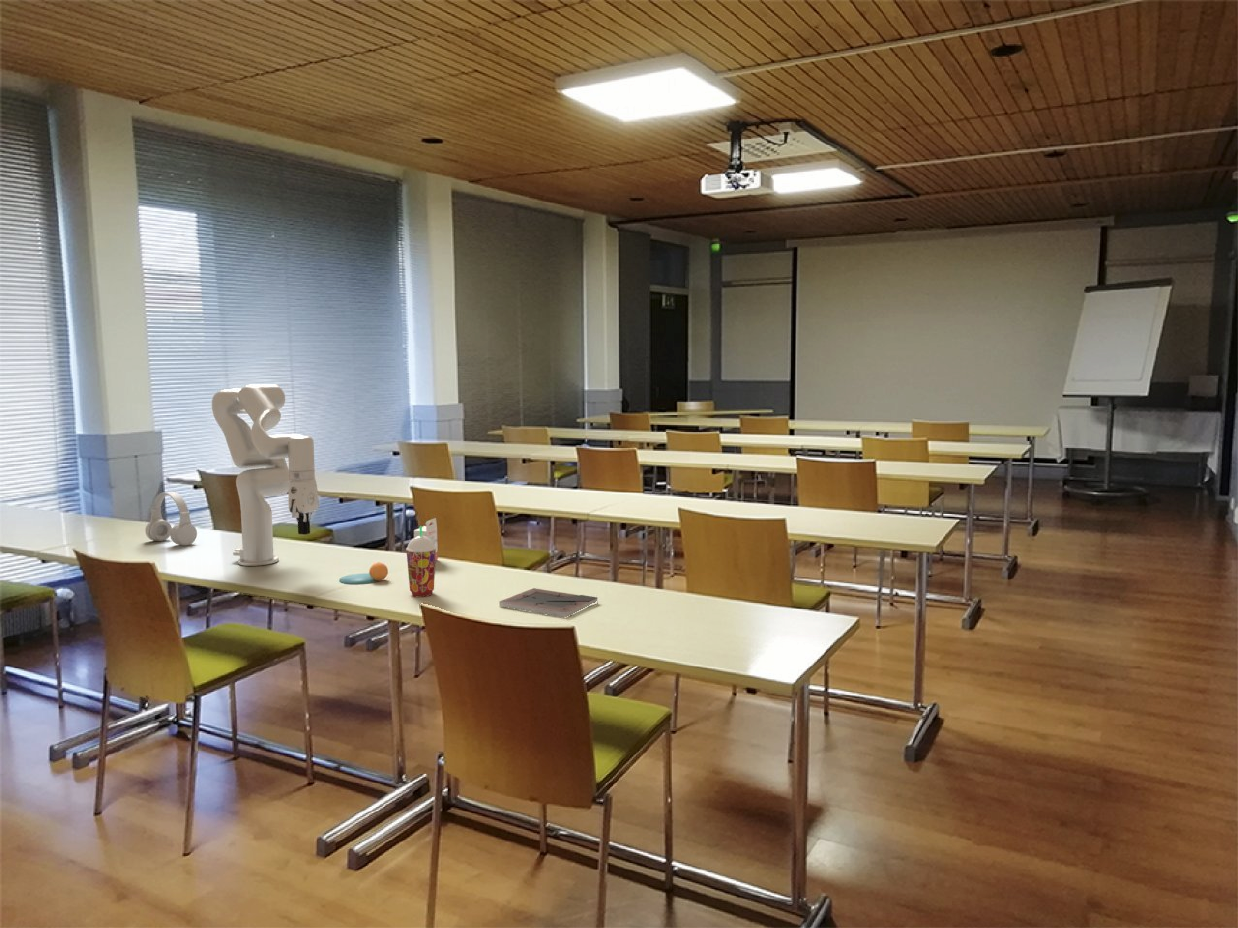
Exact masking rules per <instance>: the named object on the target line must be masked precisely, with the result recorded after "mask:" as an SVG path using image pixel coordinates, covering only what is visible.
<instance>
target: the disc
mask: <svg viewBox="0 0 1238 928" xmlns="http://www.w3.org/2000/svg"><path fill="white" fill-rule="evenodd" d="M338 581H339V582H340V583H342V584H345V585H366V584H367V585H368V584H372V583H376V582H378V581H377V580H374V579H372V578H371V576H370V574H369V572H368V573H367V572H366V573H355V574H354V573H353V574H348V575H345V576H342V577H341V578H339V580H338Z"/></svg>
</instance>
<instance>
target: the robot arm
mask: <svg viewBox="0 0 1238 928" xmlns="http://www.w3.org/2000/svg"><path fill="white" fill-rule="evenodd" d="M285 403H286V394H285V392H284V391H283V389H282V388H281V387H280V386H279V385H277V384H269V383H267V384H263V383H262V384H261V383H260V384H257V383H256V384H248V385H245V386H243V387H241V388H230V389H229V388H228V389H222V390H219V391H217V392H215V393H214V395H213V396H212V399H211V410H212V415H213V416H214V420H215V421H216V423H217V424H218V426H219V428H220V430H221V431H222V434H223V436H224V438H225V442H226V444H227V447H228V449H229V452H230V455H231V459H232V461H233V463H234V465H235V466H236V467H237V468H238V469H244V470H243V471H242V472H240V473H238V474H237V477H236V480H235V484H236V490H237V494H238V499H239V504H240V505H239V508H240V519H241V520H240V521H241V523H240V524H241V542H242V543H241V546H242V548H236V549H234V550H233V553H232V555H233V556H238V557H239V559H237V564H238V565H240V566H245V567H246V566H247V567H248V566H249V567H251V566H252V567H258V566H266V565H272V564H274V563H277V562H279V556H278V555H275V554H274V538H273V537H274V535H273V534H274V533H273V514H272V513H273V511H272V508H271V505H270V504H269V502H267V501H266V499H265V497H272V496H278V495H279V496H280V495H284V494H287V493H288V510H289V512H290V513H291V516H292V517H291V518H294V519H296V522H297V532H298V533H297V534H298V535H304V536H305V535H308V534H309V535H310V534H311V522H310V521H311V519H312V517H311V516H312V514H314V513H315V511H316V510H318V509H319V508H320V501H319V492H318V485H317V480H316V475H315V472H316V470H315V443H314V439H313V437H312V436H308V435H302V434H299V433H291V434H290V433H289V434H288V433H285V434H271V435H270V434H268V433H267V431H269V430H271V429H274V427H276V426H277V425H278V424H279V422H280V421H281V418H282V415H281V412H280V409H282V408H283V407H284V406H285ZM244 414H247V415H248V416H249V418H250V419H251V420H252V422H253V423H252V425H251V426H252V427H250V426H249V424H248V422H246V421H245V420H244V419H243V418H241V417H240V416H238V415H244ZM286 459H287V460H288V463H287V460H286ZM245 469H246V470H245Z"/></svg>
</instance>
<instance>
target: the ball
mask: <svg viewBox="0 0 1238 928" xmlns="http://www.w3.org/2000/svg"><path fill="white" fill-rule="evenodd" d="M368 573H369V574H370V576H371V578H372V579H374V580H377V582H380V581H382V580H385V578H386V577H387V576H388V573H389V570H388V567H387V566H386V564H384V563H382V562H376V563H375V562H374V563H373V564H372V565H371V566H370V568H369V571H368Z"/></svg>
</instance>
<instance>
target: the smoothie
mask: <svg viewBox="0 0 1238 928" xmlns="http://www.w3.org/2000/svg"><path fill="white" fill-rule="evenodd" d="M422 527H423V526H422V525H420V526H419V528H420V536H417V537H414V536H413V538H412V539H411V540H410V541H409V543H408V544H407V547H406V548H405V550H406V560H407V570H408V571H407V572H408V581H409V582H408V584H409V591H410V592H411V595H412V596H414V597H416V596H424V597H428V596H427V595H429V596H431V595H432V594H433V591H434V590H435V575H436V561H435V555H436V547H435V546H434V543H433V542H432V540H431V539H430V538H428V537H426V536H423V535H422ZM430 594H431V595H430Z"/></svg>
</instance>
